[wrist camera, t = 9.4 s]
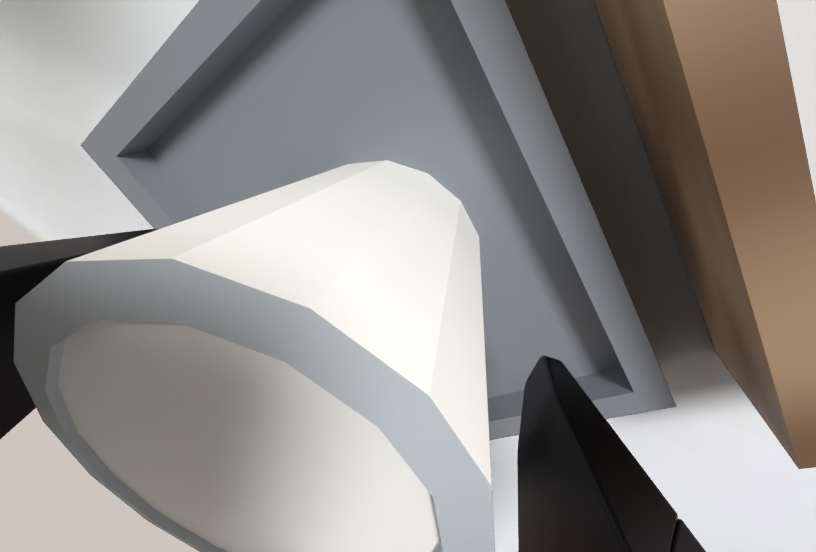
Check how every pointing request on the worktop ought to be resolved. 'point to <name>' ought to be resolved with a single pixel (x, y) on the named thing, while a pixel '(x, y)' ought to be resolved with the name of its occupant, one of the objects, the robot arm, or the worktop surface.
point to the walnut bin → (732, 187)
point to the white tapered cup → (280, 369)
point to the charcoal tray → (395, 161)
